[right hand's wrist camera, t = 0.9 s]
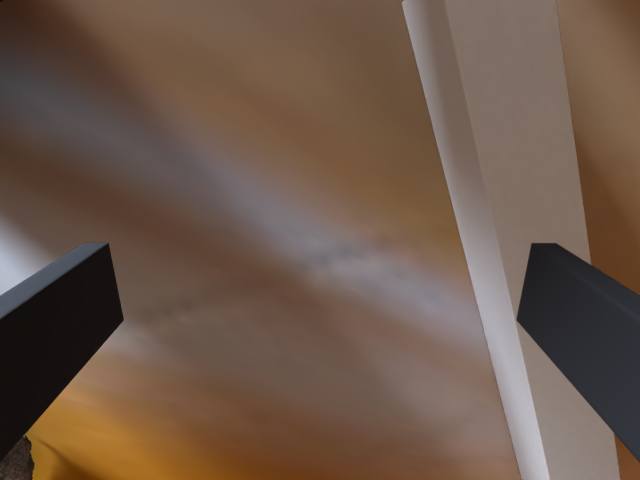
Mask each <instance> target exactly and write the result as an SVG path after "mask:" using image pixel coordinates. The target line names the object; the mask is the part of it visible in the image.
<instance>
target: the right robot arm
mask: <svg viewBox="0 0 640 480" xmlns="http://www.w3.org/2000/svg"><path fill="white" fill-rule="evenodd" d="M123 320H124V319H123V314H122V308H121V303H120V298H119V293H118V288H117V283H116V278H115V273H114V268H113V263H112V258H111V253H110V248H109V243H83V244H81V245H80V246H78V247H77V248H75V249H74V250H72V251H70V252H69V253H67V254H66V255H64V256H62V257H61V258H59V259H58V260H56V261H55V262H53V263H51V264H50V265H48V266H47V267H45V268H43V269H42V270H40V271H39V272H37V273H36V274H34V275H32V276H31V277H29V278H28V279H26V280H24V281H23V282H21V283H20V284H18V285H16V286H15V287H13V288H12V289H10V290H9V291H7V292H5V293H4V294H2V295H1V296H0V462H1V461H2V460H3V459H4V458H5V456H6V455H7V454H8V453H9V452H10V451H11V450H12V448H13V447H14V446H15V445H16V444H17V443H18V441H19V440H20V439H21V438H22V437H23V436H24V435H25V433H26V432H27V431H28V430H29V429H30V428H31V427H32V425H33V424H34V423H35V422H36V421H37V420H38V418H39V417H40V416H41V415H42V414H43V413H44V412H45V410H46V409H47V408H48V407H49V406H50V405H51V403H52V402H53V401H54V400H55V399H56V398H57V397H58V395H59V394H60V393H61V392H62V391H63V390H64V388H65V387H66V386H67V385H68V384H69V383H70V382H71V380H72V379H73V378H74V377H75V376H76V375H77V373H78V372H79V371H80V370H81V369H82V368H83V367H84V365H85V364H86V363H87V362H88V361H89V360H90V358H91V357H92V356H93V355H94V354H95V353H96V352H97V350H98V349H99V348H100V347H101V346H102V345H103V343H104V342H105V341H106V340H107V339H108V338H109V337H110V335H111V334H112V333H113V332H114V331H115V330H116V329H117V327H118V326H119V325H120V324H121V323H122V322H123ZM516 320H517V322H518V323H519V324H520V325H521V326H522V327H523V329H524V330H525V331H526V332H527V333H528V334H529V335H530V337H531V338H532V339H533V340H534V341H535V342H536V343H537V345H538V346H539V347H540V348H541V349H542V350H543V352H544V353H545V354H546V355H547V356H548V357H549V358H550V360H551V361H552V362H553V363H554V364H555V365H556V367H557V368H558V369H559V370H560V371H561V372H562V373H563V375H564V376H565V377H566V378H567V379H568V380H569V382H570V383H571V384H572V385H573V386H574V387H575V388H576V390H577V391H578V392H579V393H580V394H581V395H582V397H583V398H584V399H585V400H586V401H587V402H588V403H589V405H590V406H591V407H592V408H593V409H594V410H595V412H596V413H597V414H598V415H599V416H600V417H601V418H602V420H603V421H604V422H605V423H606V424H607V425H608V427H609V428H610V429H611V430H612V431H613V432H614V433H615V435H616V436H617V437H618V438H619V439H620V440H621V441H622V443H623V444H624V445H625V446H626V447H627V448H628V450H629V451H630V452H631V453H632V454H633V455H634V456H635V458H636V459H637V460H638V461H639V462H640V296H639V295H638V294H636V293H635V292H633V291H631V290H630V289H628V288H627V287H625V286H624V285H622V284H620V283H619V282H617V281H616V280H614V279H612V278H611V277H609V276H608V275H606V274H604V273H603V272H601V271H600V270H598V269H597V268H595V267H593V266H592V265H590V264H589V263H587V262H585V261H584V260H582V259H581V258H579V257H578V256H576V255H574V254H573V253H571V252H570V251H568V250H566V249H565V248H563V247H562V246H560V245H559V244H557V243H531V248H530V253H529V258H528V263H527V268H526V273H525V278H524V283H523V288H522V293H521V298H520V303H519V308H518V314H517V319H516Z"/></svg>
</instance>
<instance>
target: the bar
mask: <svg viewBox="0 0 640 480" xmlns="http://www.w3.org/2000/svg"><path fill="white" fill-rule="evenodd" d="M402 7H403V11H404V15H405V19H406V23H407V27H408V31H409V35H410V39H411V43H412V47H413V50H414V54H415V58H416V62H417V66H418V70H419V74H420V78H421V82H422V86H423V90H424V94H425V98H426V102H427V106H428V110H429V114H430V118H431V122H432V126H433V130H434V134H435V138H436V142H437V146H438V150H439V154H440V158H441V162H442V166H443V170H444V174H445V178H446V181H447V185H448V189H449V193H450V197H451V201H452V205H453V209H454V213H455V217H456V221H457V225H458V229H459V233H460V237H461V241H462V245H463V249H464V253H465V257H466V261H467V265H468V269H469V273H470V277H471V281H472V285H473V289H474V293H475V297H476V301H477V305H478V309H479V312H480V316H481V320H482V324H483V328H484V332H485V336H486V340H487V344H488V348H489V352H490V356H491V360H492V364H493V368H494V372H495V376H496V380H497V384H498V388H499V392H500V396H501V400H502V404H503V408H504V412H505V416H506V420H507V424H508V428H509V432H510V436H511V440H512V443H513V447H514V451H515V455H516V459H517V463H518V467H519V471H520V475H521V479H522V480H620V472H619V465H618V457H617V450H616V443H615V435H614V432H613V431H612V430H611V429H610V428H609V427H608V425H607V424H606V423H605V422H604V421H603V420H602V418H601V417H600V416H599V415H598V414H597V413H596V412H595V410H594V409H593V408H592V407H591V406H590V405H589V403H588V402H587V401H586V400H585V399H584V398H583V397H582V395H581V394H580V393H579V392H578V391H577V390H576V388H575V387H574V386H573V385H572V384H571V383H570V382H569V380H568V379H567V378H566V377H565V376H564V375H563V373H562V372H561V371H560V370H559V369H558V368H557V367H556V365H555V364H554V363H553V362H552V361H551V360H550V358H549V357H548V356H547V355H546V354H545V353H544V352H543V350H542V349H541V348H540V347H539V346H538V345H537V343H536V342H535V341H534V340H533V339H532V338H531V337H530V335H529V334H528V333H527V332H526V331H525V330H524V329H523V327H522V326H521V325H520V324H519V323H518V322H517V320H516V319H517V314H518V308H519V303H520V298H521V293H522V288H523V283H524V278H525V273H526V268H527V263H528V258H529V253H530V248H531V243H557V244H559V245H560V246H562V247H563V248H565V249H566V250H568V251H570V252H571V253H573V254H574V255H576V256H578V257H579V258H581V259H582V260H584V261H585V262H587V263H589V264H590V265H591V258H590V250H589V243H588V235H587V228H586V221H585V213H584V206H583V198H582V191H581V184H580V176H579V169H578V161H577V154H576V147H575V139H574V132H573V124H572V117H571V110H570V102H569V95H568V87H567V80H566V73H565V65H564V58H563V50H562V43H561V36H560V28H559V21H558V13H557V6H556V0H404V1H403V2H402Z"/></svg>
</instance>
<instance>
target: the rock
mask: <svg viewBox="0 0 640 480" xmlns="http://www.w3.org/2000/svg"><path fill="white" fill-rule="evenodd" d="M31 446H32V445H31V442H30V441H29V440H28V438H27V437H26V435H24V436H23V437H22V438H21V439H20V440H19V441H18V443H17V444H16V445H15V446H14V447H13V448H12V450H11V451H10V452H9V453H8V454H7V455H6V456H5V458H4V459H3V460H2V461H1V462H0V480H32V478H33V477H32V474H33V473H32V471H33V469H34V462H33V461H32V458H31V453H30V450H31Z"/></svg>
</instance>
